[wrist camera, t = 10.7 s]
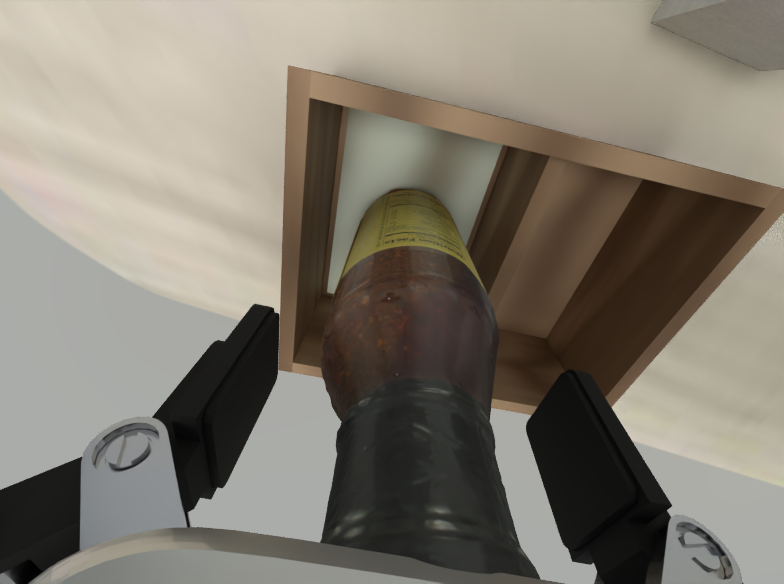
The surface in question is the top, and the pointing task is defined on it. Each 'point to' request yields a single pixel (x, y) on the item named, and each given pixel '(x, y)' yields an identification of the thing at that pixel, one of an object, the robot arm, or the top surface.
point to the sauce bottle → (416, 396)
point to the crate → (513, 229)
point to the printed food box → (730, 28)
